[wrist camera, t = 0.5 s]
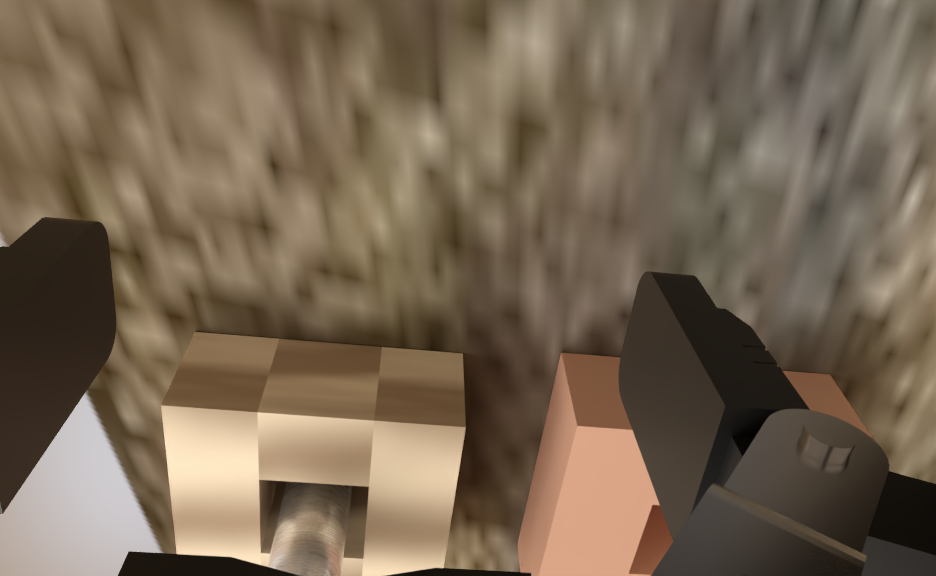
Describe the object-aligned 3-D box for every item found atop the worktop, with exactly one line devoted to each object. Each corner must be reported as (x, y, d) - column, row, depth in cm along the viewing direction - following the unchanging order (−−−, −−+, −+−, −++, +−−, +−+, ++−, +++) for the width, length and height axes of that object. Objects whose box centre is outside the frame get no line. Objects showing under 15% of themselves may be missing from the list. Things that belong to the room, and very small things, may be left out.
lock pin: (296, 415, 38) (243, 643, 28) (359, 420, 38) (330, 647, 28) (296, 461, 39) (245, 693, 29) (356, 465, 40) (327, 696, 29)
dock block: (561, 352, 36) (577, 426, 32) (829, 374, 37) (879, 448, 33) (517, 543, 43) (526, 625, 39) (746, 557, 44) (778, 637, 40)
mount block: (194, 331, 35) (161, 405, 31) (462, 353, 36) (466, 427, 32) (208, 518, 41) (181, 601, 37) (436, 532, 42) (436, 614, 38)
